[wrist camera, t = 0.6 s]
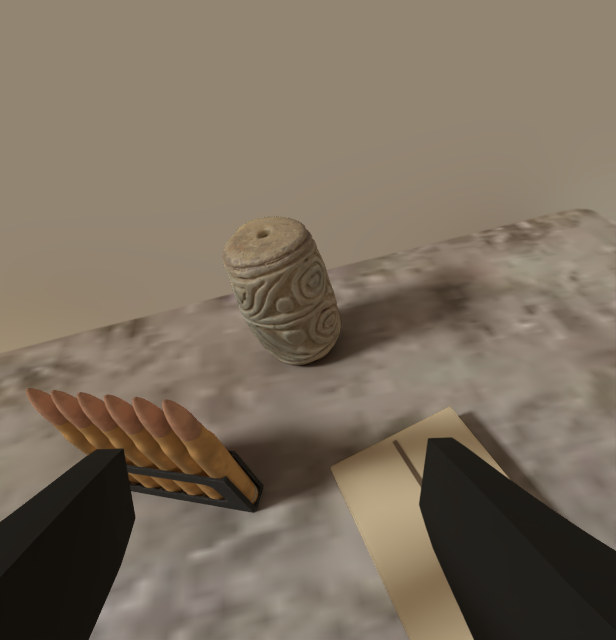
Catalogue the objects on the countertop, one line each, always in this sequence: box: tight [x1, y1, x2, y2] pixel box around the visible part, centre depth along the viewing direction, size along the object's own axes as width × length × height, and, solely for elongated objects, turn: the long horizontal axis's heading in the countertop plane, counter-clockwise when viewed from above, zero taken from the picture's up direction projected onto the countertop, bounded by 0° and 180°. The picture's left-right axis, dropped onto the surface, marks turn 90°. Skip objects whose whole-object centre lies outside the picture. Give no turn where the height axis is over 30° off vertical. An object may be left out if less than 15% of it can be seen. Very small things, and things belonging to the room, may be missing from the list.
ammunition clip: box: [26, 388, 263, 513], centre depth 24 cm, size 11×2×12 cm, turn 77°
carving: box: [223, 217, 341, 365], centre depth 31 cm, size 6×8×12 cm
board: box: [330, 407, 508, 640], centre depth 20 cm, size 18×9×2 cm, turn 22°
